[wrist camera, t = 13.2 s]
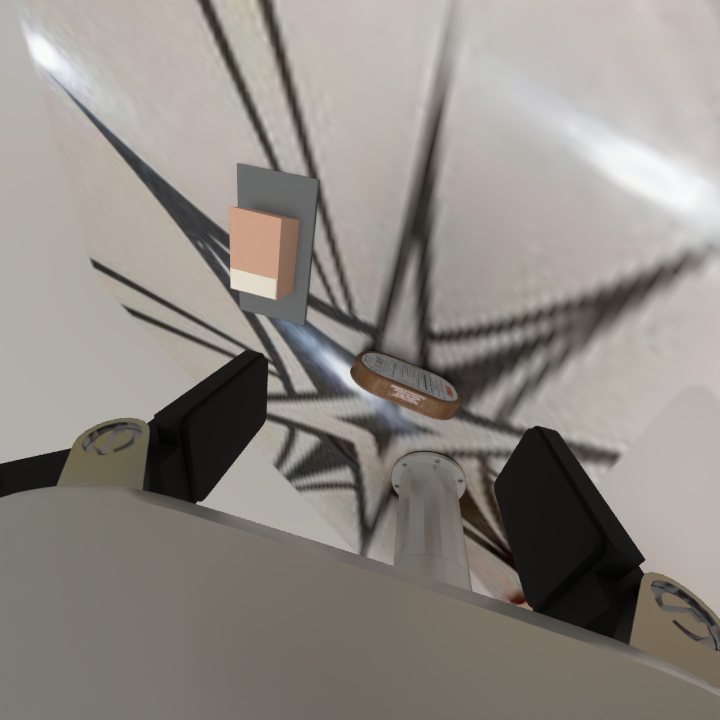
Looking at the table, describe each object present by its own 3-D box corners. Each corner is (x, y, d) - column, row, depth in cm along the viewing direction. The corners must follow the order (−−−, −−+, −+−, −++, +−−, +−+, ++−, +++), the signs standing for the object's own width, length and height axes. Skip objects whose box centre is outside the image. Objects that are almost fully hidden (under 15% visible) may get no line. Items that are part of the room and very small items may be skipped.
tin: (356, 358, 41) (342, 387, 34) (363, 340, 40) (350, 366, 32) (449, 395, 41) (457, 433, 33) (460, 378, 39) (470, 414, 32)
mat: (305, 323, 40) (303, 325, 40) (242, 308, 41) (239, 309, 40) (319, 180, 32) (317, 179, 31) (239, 164, 33) (237, 163, 32)
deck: (299, 219, 34) (280, 218, 29) (293, 291, 38) (275, 300, 33) (253, 209, 34) (228, 206, 29) (252, 281, 38) (230, 288, 34)
